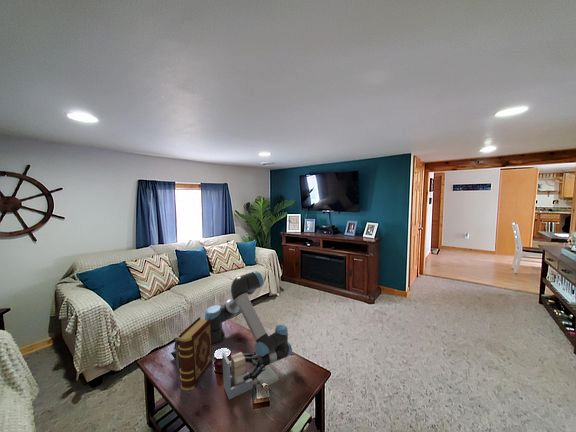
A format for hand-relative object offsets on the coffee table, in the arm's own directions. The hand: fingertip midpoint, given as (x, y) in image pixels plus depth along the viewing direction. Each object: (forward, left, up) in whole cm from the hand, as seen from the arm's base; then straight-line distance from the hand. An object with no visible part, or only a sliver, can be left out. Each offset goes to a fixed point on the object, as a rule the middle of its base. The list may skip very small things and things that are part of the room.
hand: (232, 372), depth 127 cm
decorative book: (-22, -15, -11) cm, 29 cm away
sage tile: (0, +19, -10) cm, 22 cm away
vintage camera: (-40, -21, -11) cm, 46 cm away
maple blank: (0, +3, -10) cm, 11 cm away
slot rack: (0, +3, -10) cm, 11 cm away
